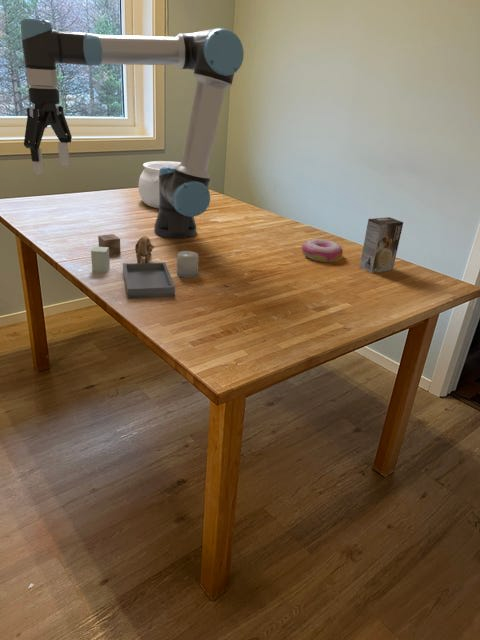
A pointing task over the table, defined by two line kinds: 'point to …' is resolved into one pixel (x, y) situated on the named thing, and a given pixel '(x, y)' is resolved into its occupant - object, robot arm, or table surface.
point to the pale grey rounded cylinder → (187, 264)
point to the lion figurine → (143, 249)
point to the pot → (152, 181)
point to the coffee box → (380, 244)
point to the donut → (322, 250)
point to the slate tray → (148, 280)
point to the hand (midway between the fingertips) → (52, 169)
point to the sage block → (100, 259)
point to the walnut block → (110, 243)
